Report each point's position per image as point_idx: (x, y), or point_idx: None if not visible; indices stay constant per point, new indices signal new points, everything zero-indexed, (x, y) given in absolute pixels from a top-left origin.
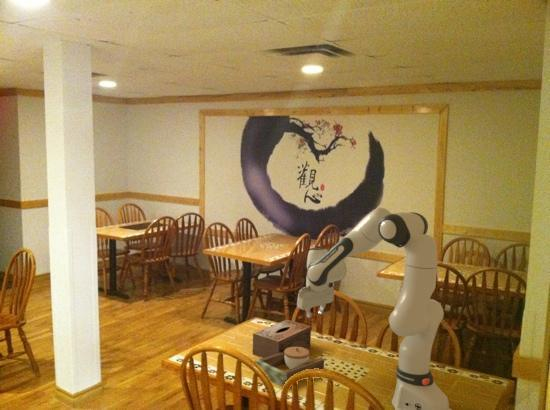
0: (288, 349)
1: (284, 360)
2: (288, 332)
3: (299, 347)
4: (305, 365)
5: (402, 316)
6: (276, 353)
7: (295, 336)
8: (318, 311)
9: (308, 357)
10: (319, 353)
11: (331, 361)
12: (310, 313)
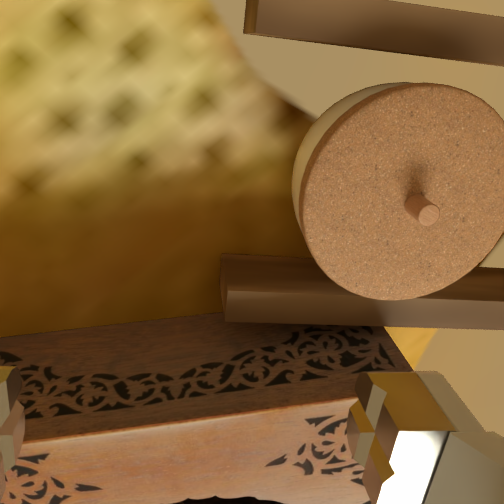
0: (428, 271)
1: None
2: (201, 466)
3: (330, 241)
4: (487, 28)
5: None
6: (419, 327)
7: (174, 403)
8: (3, 475)
9: (377, 90)
10: (20, 217)
11: (55, 52)
12: (461, 437)
